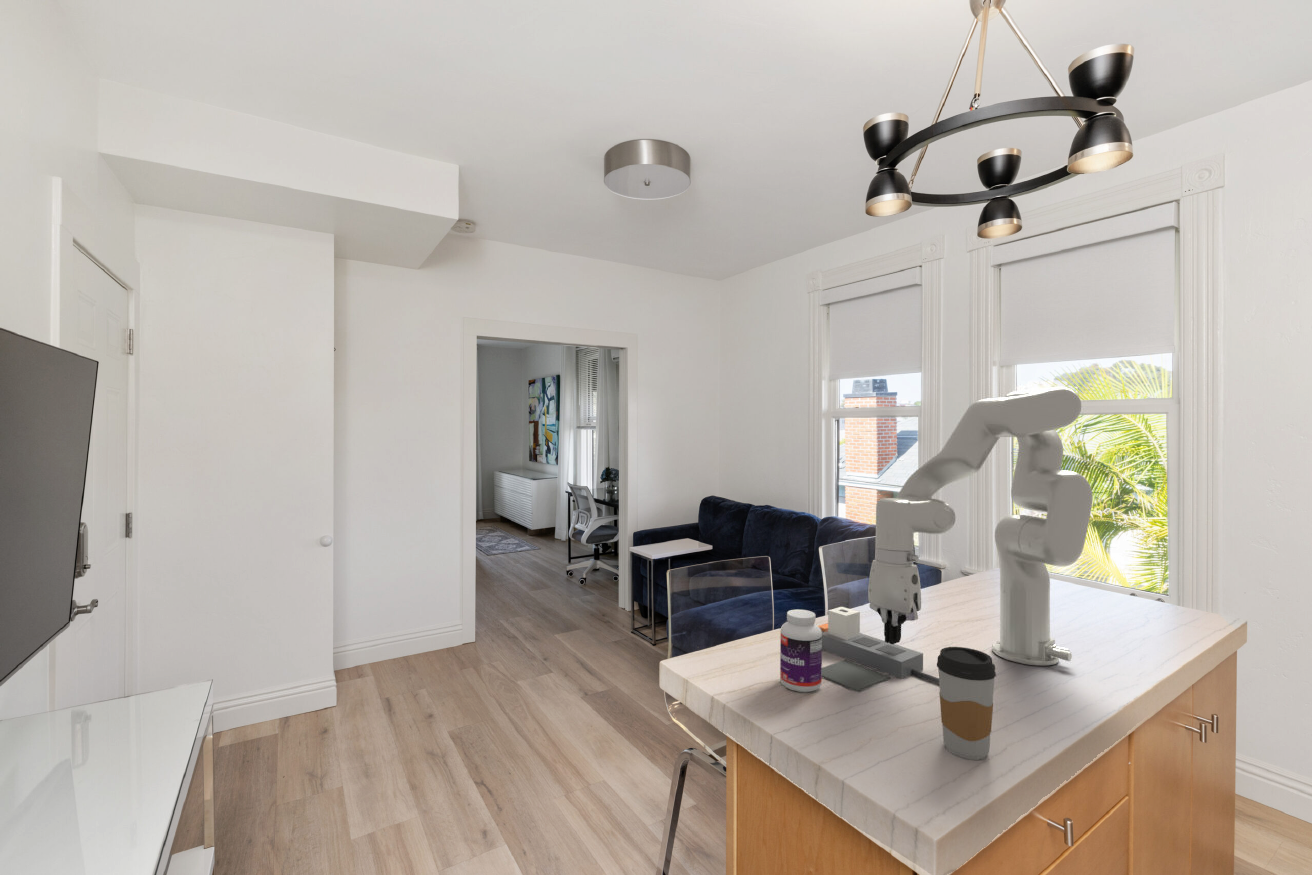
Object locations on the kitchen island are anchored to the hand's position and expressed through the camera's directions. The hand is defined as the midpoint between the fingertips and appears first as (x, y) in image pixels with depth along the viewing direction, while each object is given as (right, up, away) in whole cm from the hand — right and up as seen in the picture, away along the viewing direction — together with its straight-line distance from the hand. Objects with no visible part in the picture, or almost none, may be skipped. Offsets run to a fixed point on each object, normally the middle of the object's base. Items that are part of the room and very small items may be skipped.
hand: (892, 641), depth 123 cm
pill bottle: (-22, -6, -8) cm, 24 cm away
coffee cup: (-1, -6, -32) cm, 32 cm away
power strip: (-1, -6, +2) cm, 6 cm away
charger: (-7, -2, +11) cm, 13 cm away
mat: (-10, -6, -4) cm, 12 cm away
